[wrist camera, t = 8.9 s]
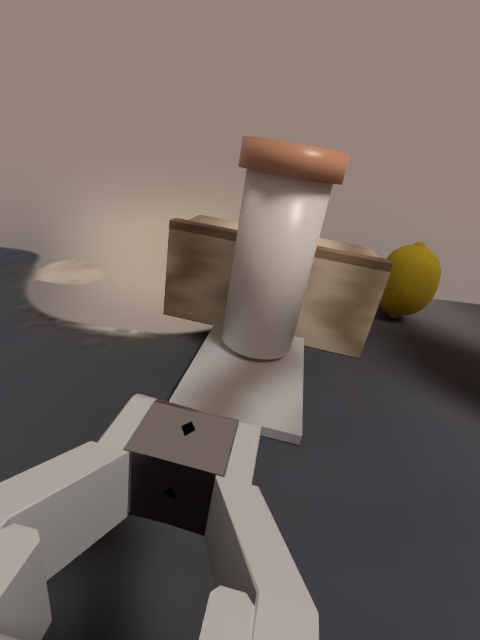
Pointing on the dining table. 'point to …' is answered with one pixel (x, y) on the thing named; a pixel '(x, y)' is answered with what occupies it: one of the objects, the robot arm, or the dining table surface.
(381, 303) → the lemon
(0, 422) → the dining table surface
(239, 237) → the knob
